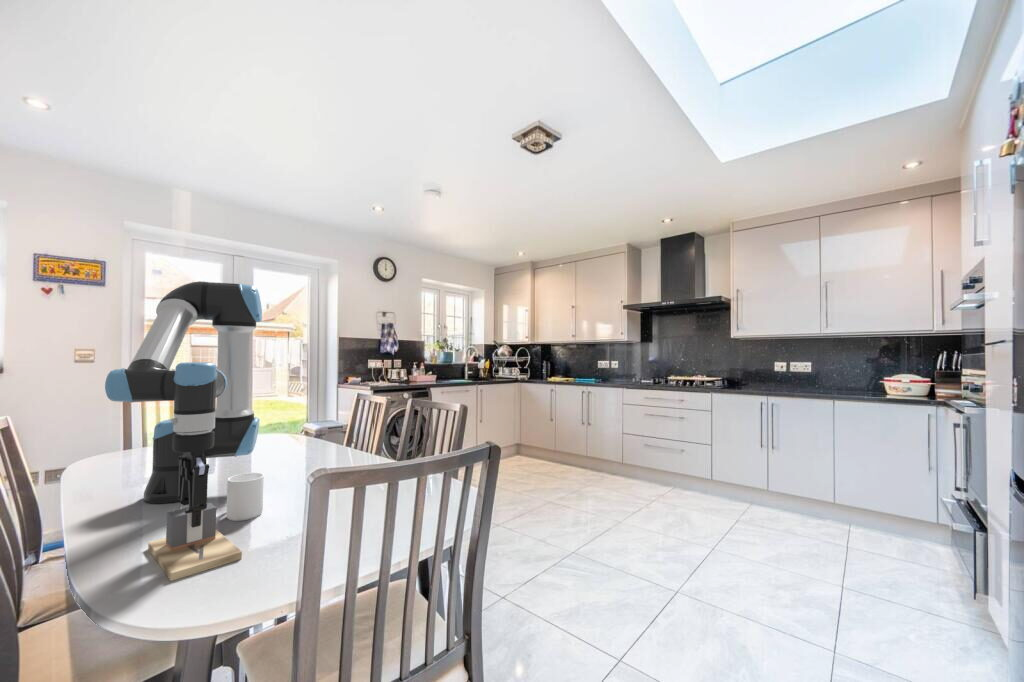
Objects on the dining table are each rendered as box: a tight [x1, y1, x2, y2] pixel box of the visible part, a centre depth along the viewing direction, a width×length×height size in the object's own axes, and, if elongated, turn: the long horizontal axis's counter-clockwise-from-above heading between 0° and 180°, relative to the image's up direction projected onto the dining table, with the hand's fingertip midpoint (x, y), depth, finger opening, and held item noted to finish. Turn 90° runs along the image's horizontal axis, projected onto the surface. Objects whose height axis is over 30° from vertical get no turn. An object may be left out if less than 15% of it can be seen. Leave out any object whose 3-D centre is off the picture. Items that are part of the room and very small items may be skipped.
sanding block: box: [165, 502, 217, 551], centre depth 96 cm, size 4×8×7 cm, turn 140°
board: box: [147, 529, 243, 582], centre depth 93 cm, size 20×12×2 cm, turn 50°
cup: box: [226, 472, 265, 522], centre depth 116 cm, size 8×12×10 cm
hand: (190, 536), depth 96 cm, fingers closed on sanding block, 4 cm apart
